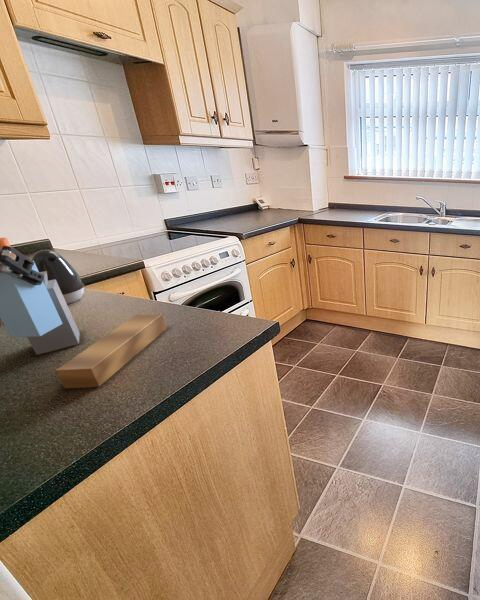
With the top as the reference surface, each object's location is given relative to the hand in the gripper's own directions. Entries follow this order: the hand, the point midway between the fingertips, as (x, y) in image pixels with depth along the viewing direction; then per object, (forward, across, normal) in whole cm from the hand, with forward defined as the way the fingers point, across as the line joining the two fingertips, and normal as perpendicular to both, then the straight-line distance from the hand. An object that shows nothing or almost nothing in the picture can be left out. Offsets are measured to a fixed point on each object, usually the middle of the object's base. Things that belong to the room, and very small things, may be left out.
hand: (24, 280), depth 62 cm
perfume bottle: (+18, -7, -7) cm, 20 cm away
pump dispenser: (+35, -25, +10) cm, 44 cm away
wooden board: (+13, +11, -11) cm, 21 cm away
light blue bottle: (+1, 0, 0) cm, 1 cm away
